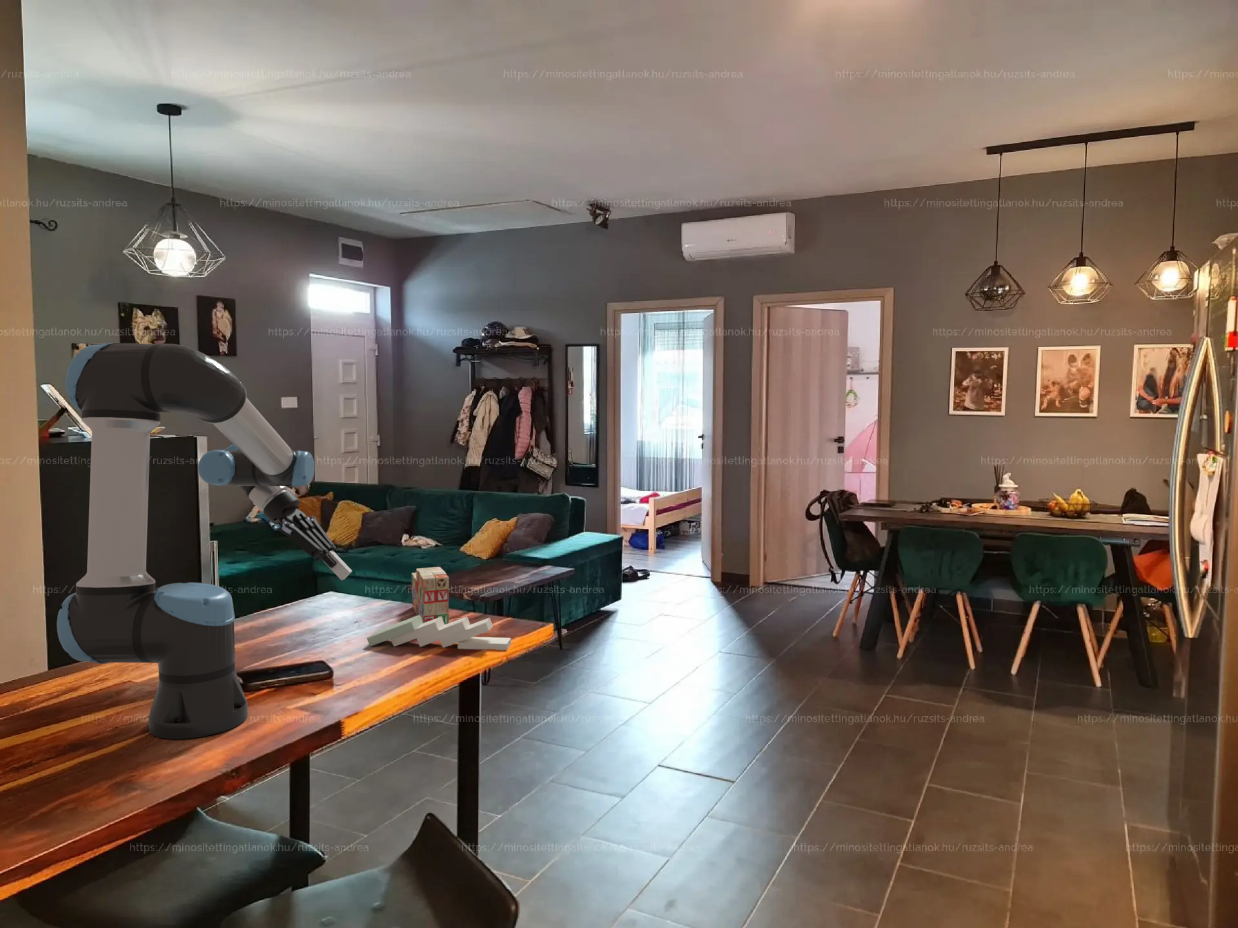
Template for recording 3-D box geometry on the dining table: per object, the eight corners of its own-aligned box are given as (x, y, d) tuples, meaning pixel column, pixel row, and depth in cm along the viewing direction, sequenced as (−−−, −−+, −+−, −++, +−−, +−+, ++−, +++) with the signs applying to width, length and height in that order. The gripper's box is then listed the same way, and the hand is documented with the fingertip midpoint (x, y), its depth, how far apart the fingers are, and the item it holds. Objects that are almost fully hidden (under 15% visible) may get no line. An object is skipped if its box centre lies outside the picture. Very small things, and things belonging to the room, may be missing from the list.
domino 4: (457, 642, 185) (506, 643, 184) (462, 636, 189) (510, 637, 189) (457, 651, 185) (506, 652, 184) (462, 645, 189) (510, 646, 189)
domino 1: (390, 638, 186) (434, 621, 185) (398, 632, 191) (441, 616, 189) (393, 646, 186) (438, 630, 185) (401, 640, 191) (444, 624, 189)
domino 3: (439, 639, 185) (485, 622, 184) (444, 634, 189) (489, 617, 189) (443, 647, 185) (489, 630, 184) (447, 642, 189) (492, 625, 189)
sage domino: (366, 638, 186) (411, 621, 184) (376, 630, 192) (420, 614, 190) (370, 646, 186) (414, 629, 185) (380, 638, 192) (423, 622, 190)
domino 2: (416, 638, 185) (462, 621, 184) (422, 633, 190) (467, 616, 189) (420, 646, 185) (465, 629, 184) (425, 641, 190) (470, 624, 189)
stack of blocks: (411, 607, 221) (411, 561, 220) (435, 605, 223) (435, 559, 222) (423, 628, 201) (422, 577, 200) (449, 625, 203) (448, 576, 202)
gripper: (279, 508, 196) (348, 581, 195) (248, 515, 183) (322, 593, 182) (300, 486, 195) (370, 559, 194) (271, 491, 182) (345, 569, 181)
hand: (346, 575), depth 188 cm, fingers closed
